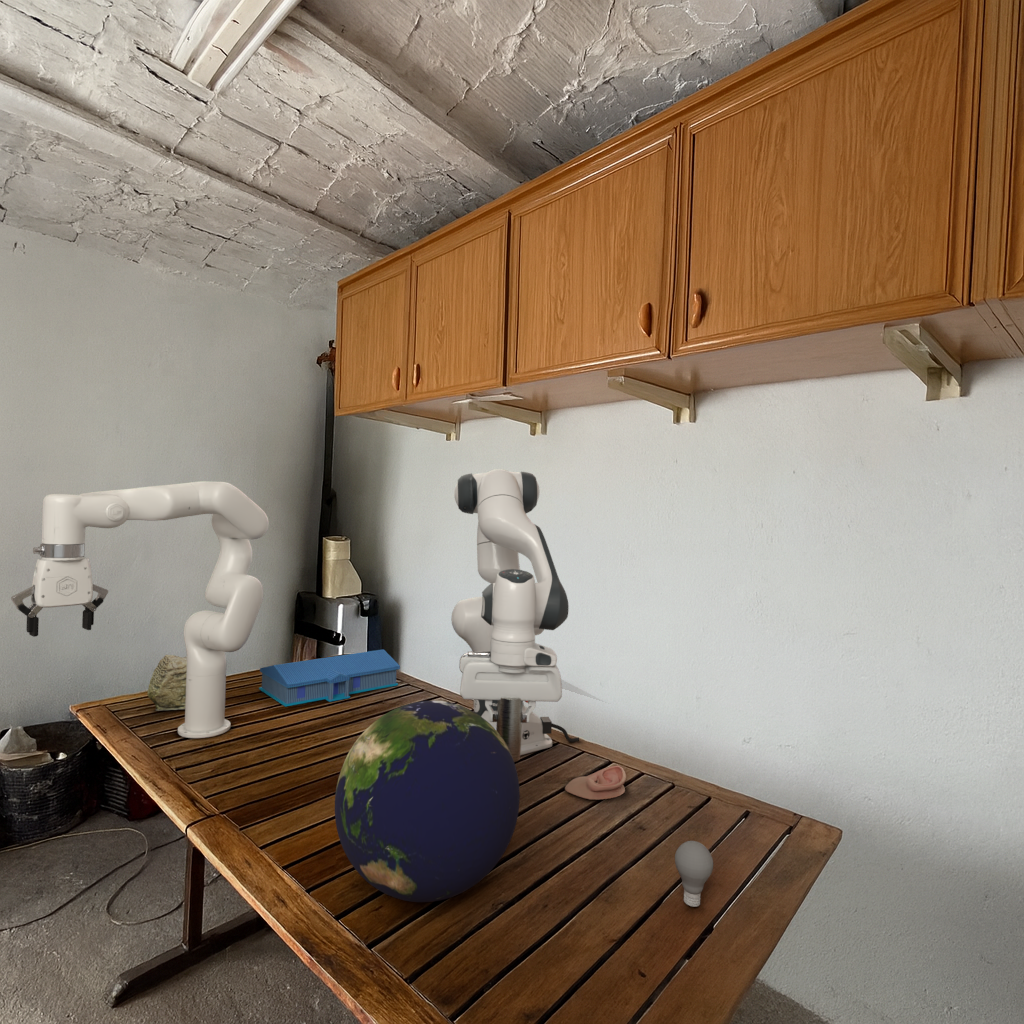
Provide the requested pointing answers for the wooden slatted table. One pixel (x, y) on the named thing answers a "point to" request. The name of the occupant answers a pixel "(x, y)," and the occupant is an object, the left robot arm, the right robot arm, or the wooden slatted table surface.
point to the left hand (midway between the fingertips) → (60, 632)
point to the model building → (329, 677)
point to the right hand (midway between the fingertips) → (509, 721)
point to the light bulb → (693, 869)
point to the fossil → (169, 683)
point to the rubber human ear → (599, 784)
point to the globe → (427, 801)
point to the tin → (510, 724)
